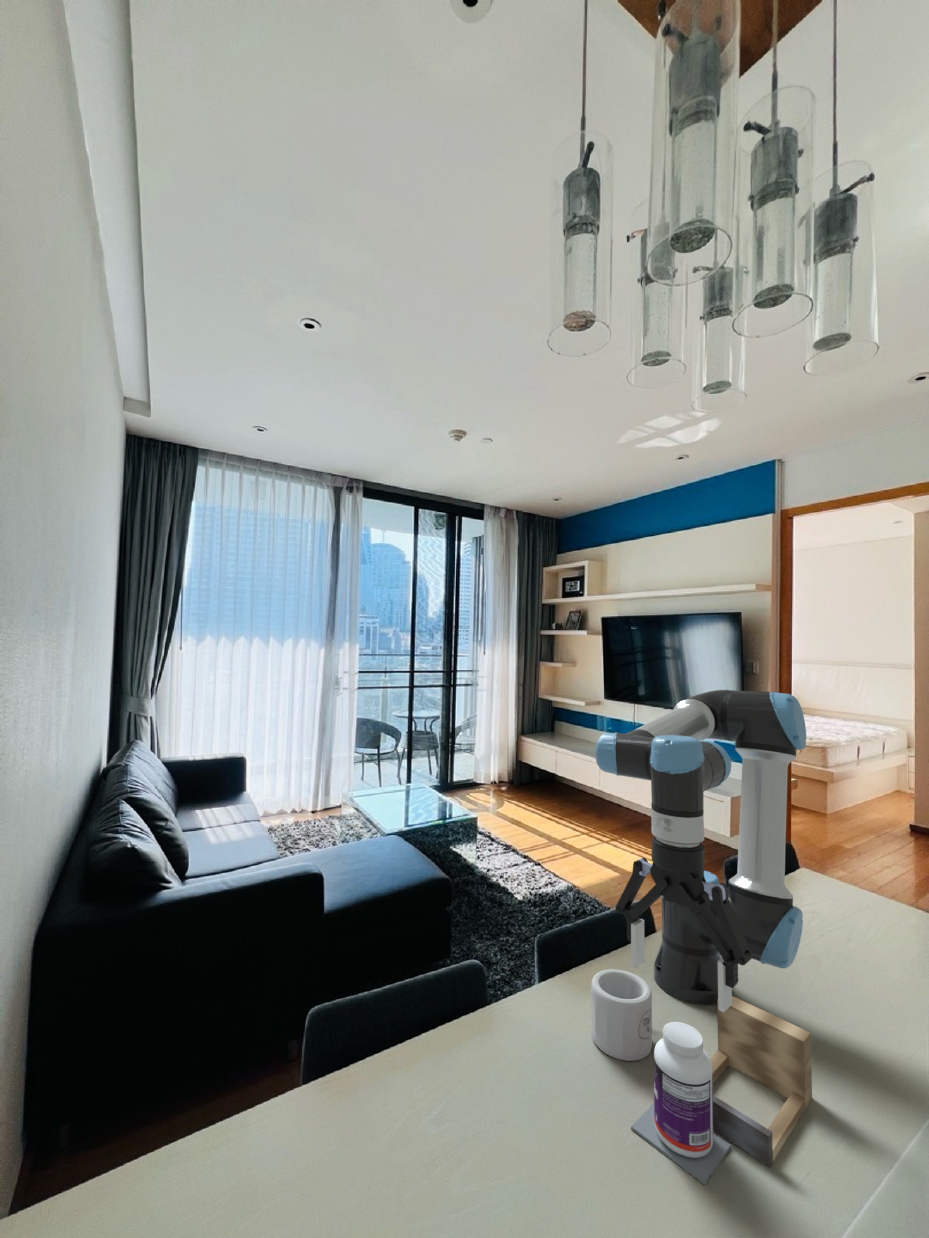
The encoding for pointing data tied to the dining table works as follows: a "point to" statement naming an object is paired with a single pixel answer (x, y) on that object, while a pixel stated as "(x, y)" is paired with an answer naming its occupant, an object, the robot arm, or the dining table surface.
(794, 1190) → the dining table surface
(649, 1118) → the mat
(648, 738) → the robot arm
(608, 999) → the mug
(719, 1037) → the wooden bottle holder
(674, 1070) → the pill bottle
